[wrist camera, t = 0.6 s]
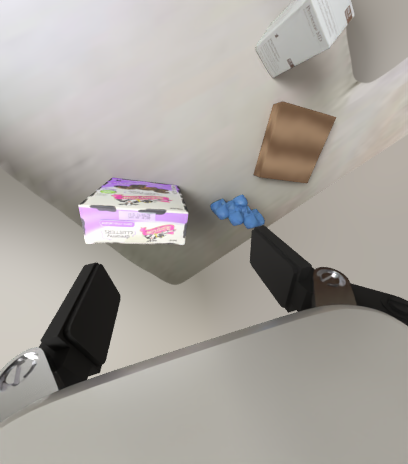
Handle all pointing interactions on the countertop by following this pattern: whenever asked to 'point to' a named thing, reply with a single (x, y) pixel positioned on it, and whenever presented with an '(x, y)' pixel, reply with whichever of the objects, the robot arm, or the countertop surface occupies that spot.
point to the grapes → (237, 212)
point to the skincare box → (302, 32)
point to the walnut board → (292, 142)
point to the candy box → (134, 213)
